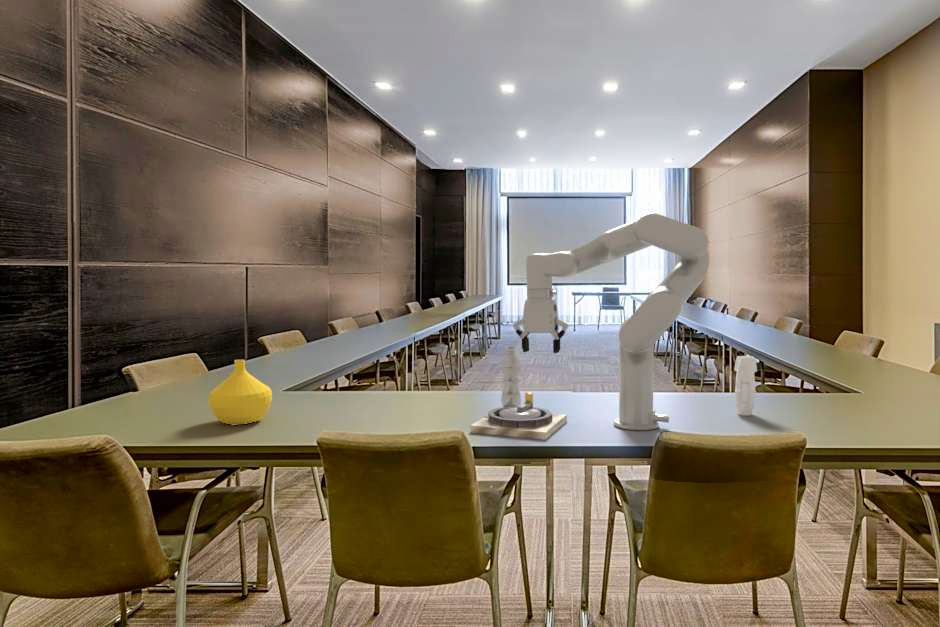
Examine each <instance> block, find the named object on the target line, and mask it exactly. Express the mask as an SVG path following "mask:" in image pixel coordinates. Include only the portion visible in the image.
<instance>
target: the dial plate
mask: <svg viewBox="0 0 940 627" xmlns="http://www.w3.org/2000/svg"><path fill="white" fill-rule="evenodd" d="M517 407H518V406H516V407H504V406H502V407H498V408H494V409H492V410H490V411H488V412H487V413H488V414H487V415H484V416H483V418H480V419H479V420H477V421H476V422H473V423H472V424H470V427H469V428H470V430H469V431H470V433H472V434H473V433H475V434H483V435H491V436H493V435H494V436H501V435H503V436H504V437H513V438H525V439H534V440H543V441H545V440H546V441H547V440H548V439H549V438H550V437H551V436H552V435H553V434H554V433H556V431H558V430H559V429H561V427H562V426H564V424H566V423H567V422H568V420H567V418H568V414H564V413H563V414H562V413H561V414H560V413H552V412H551V410H549V409H545V408H541V407H537V406H536V407H535V406H533V407H530V408H532V409H536V410H539V411H540V412H541V417H539V418H534V419H507V418H502V417H499V412H500V411H501V410H503V409H508V408H517ZM503 436H502V437H503Z"/></svg>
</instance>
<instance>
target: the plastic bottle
mask: <svg viewBox="0 0 940 627" xmlns="http://www.w3.org/2000/svg"><path fill="white" fill-rule="evenodd" d="M504 354H505V355H504V356H503V357H502V359H501V361H500V371H501V377H502V389H501V396H500V401H501V405H502V407H516V406H520V405H521V404H522V396H521V393H520V392H521V391H520V390H521V389H520V373H521V372H520V371H521V361H520V359H519V358H518V357H517V347H515V346H506V347H504Z"/></svg>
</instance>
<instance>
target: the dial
mask: <svg viewBox="0 0 940 627" xmlns="http://www.w3.org/2000/svg"><path fill="white" fill-rule="evenodd" d="M530 407H534V393H533V392H531V391H529V392H524V402H523V403H521V404H520V406H518V407H517V408H508V409H503V410H501V411H500V412H499V417H502V418H507V419H534V418H539V417H541V412H540V411H539V410H536V409H532V408H530Z"/></svg>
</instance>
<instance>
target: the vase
mask: <svg viewBox="0 0 940 627" xmlns="http://www.w3.org/2000/svg"><path fill="white" fill-rule="evenodd" d="M245 362H246V361H245V359H234V370H233V372H232V373H231V374H230V375H229V376H228V377H227V378H226V379H224V380H223V381H222V382H221V383H219V384H218V385H217V387H215V388H213V390H211V391H210V393H209V395H208V406H209V407H210V409H211V411H212V414H213V415H214V416H215V417H216V418H217V419H218V421H219V422H221V423H222V424H224V423H226V424H245V423H252V422H255V423H257V422H256V421H258V422H259V421H260V420H262V419H263V418H264V417H265V415H266V414H267V412H268V411H269V409H270V406H271V404H272V401H273V391H272V389H271V387H269V386H268V385H267V384H264V383H263V382H262V381H260V380H258V379H257V378H256V377H255V376H253V375H252V374H250V373H249V372H248V371H247V370H246V363H245ZM226 424H225V425H226ZM252 424H253V423H252Z"/></svg>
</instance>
